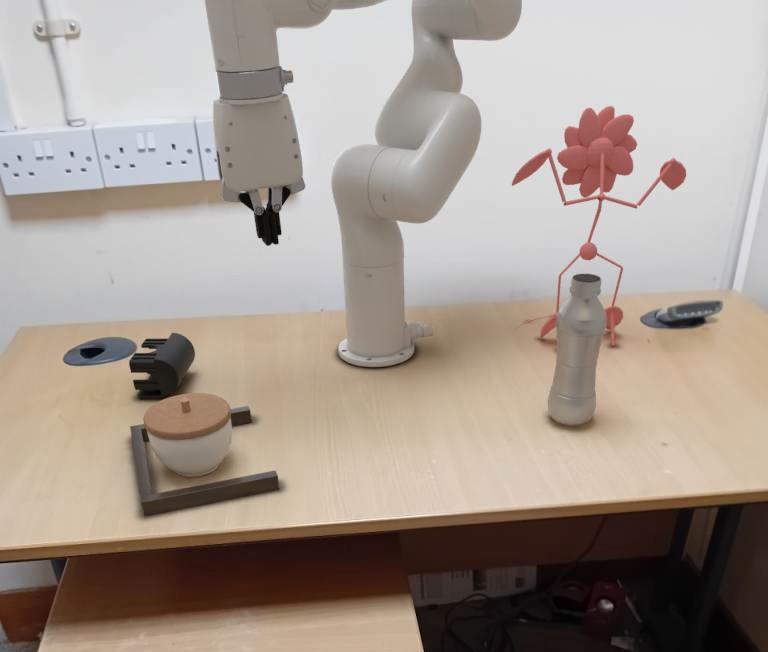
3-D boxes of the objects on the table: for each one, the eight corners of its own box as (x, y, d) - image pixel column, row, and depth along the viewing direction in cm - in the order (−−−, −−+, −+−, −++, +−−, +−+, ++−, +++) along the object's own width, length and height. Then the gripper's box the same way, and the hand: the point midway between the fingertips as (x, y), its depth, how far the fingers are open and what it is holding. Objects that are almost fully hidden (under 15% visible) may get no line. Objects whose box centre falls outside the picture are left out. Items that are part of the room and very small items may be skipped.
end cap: (182, 400, 118) (174, 358, 114) (136, 400, 119) (126, 358, 115) (199, 372, 126) (192, 331, 122) (155, 372, 127) (147, 332, 123)
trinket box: (160, 446, 107) (147, 384, 102) (240, 441, 108) (230, 378, 102) (149, 490, 98) (133, 423, 93) (235, 483, 99) (225, 417, 94)
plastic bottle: (566, 435, 107) (583, 291, 95) (536, 415, 112) (549, 275, 100) (603, 424, 109) (625, 281, 97) (572, 404, 114) (589, 266, 102)
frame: (250, 418, 113) (248, 405, 112) (279, 489, 98) (277, 475, 97) (133, 438, 109) (129, 426, 108) (144, 516, 94) (140, 502, 93)
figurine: (664, 344, 130) (709, 109, 110) (513, 357, 128) (530, 119, 107) (627, 310, 143) (662, 93, 123) (489, 322, 140) (500, 102, 120)
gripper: (302, 75, 98) (316, 226, 109) (181, 88, 94) (208, 242, 105) (319, 83, 92) (332, 241, 103) (192, 96, 88) (219, 259, 99)
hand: (270, 241), depth 104 cm, fingers closed
